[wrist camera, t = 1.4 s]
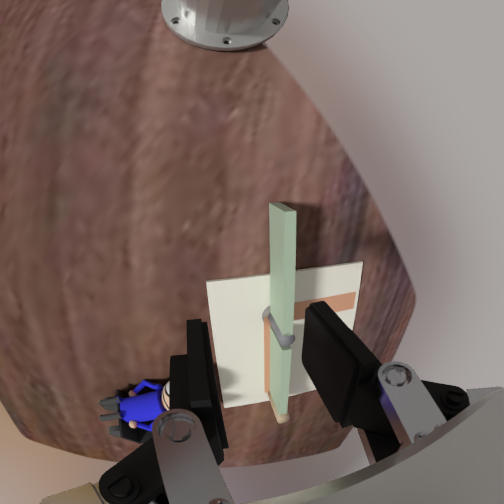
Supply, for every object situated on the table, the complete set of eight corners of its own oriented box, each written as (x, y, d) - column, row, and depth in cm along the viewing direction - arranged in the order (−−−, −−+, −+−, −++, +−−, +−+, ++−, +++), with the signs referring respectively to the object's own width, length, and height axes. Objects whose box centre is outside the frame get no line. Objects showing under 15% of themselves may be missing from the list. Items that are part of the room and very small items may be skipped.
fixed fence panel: (267, 325, 30) (280, 353, 26) (280, 323, 31) (295, 350, 26) (267, 396, 35) (277, 424, 30) (278, 394, 35) (289, 421, 30)
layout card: (206, 280, 28) (206, 282, 27) (361, 261, 31) (363, 262, 30) (223, 405, 34) (224, 408, 34) (340, 380, 38) (341, 382, 37)
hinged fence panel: (281, 321, 30) (294, 344, 26) (267, 323, 30) (279, 347, 26) (282, 202, 26) (299, 210, 22) (266, 203, 26) (280, 212, 21)
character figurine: (95, 382, 29) (193, 356, 31) (123, 416, 32) (215, 394, 33) (81, 422, 22) (195, 401, 24) (116, 455, 24) (222, 438, 26)
